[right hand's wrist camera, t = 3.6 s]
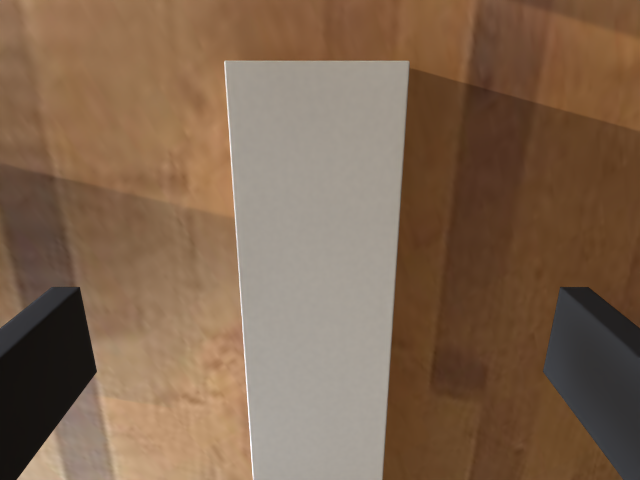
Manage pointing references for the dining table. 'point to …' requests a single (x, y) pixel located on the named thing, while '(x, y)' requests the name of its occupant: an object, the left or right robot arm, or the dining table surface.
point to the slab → (317, 258)
